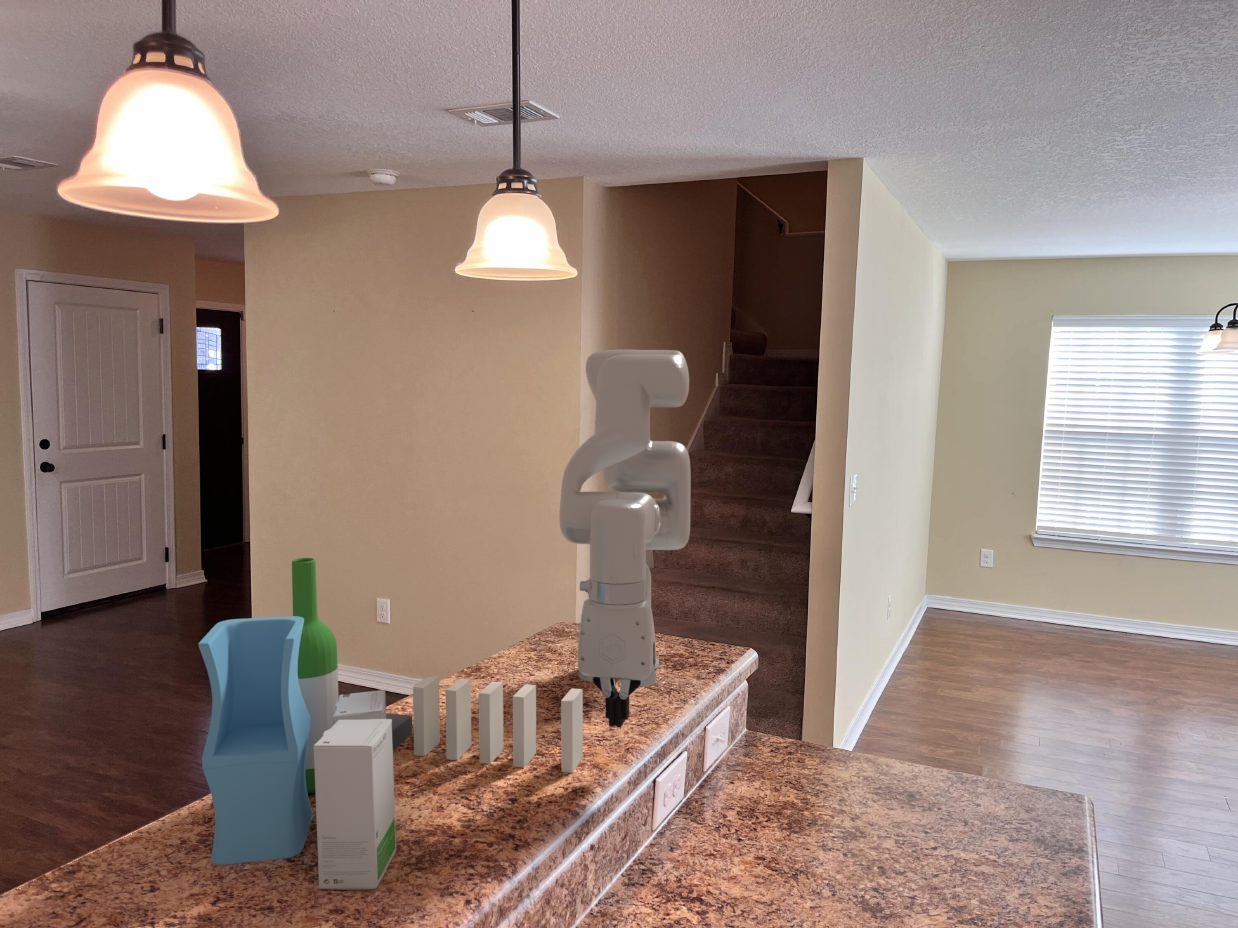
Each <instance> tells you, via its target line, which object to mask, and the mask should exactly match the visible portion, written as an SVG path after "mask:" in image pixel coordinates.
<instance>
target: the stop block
mask: <svg viewBox="0 0 1238 928" xmlns="http://www.w3.org/2000/svg"><path fill="white" fill-rule="evenodd" d="M386 719H392V746H393V752H394V751H395V750H396V749H397V748H399V747H400V746H401V745H403V743H404V742H405V741H407V740H408V739H409V738H410V737H412V736H414V732H413V715H410V714H409V715H408V714H403V713H392V712H388V713H387V712H386Z"/></svg>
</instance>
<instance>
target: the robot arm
mask: <svg viewBox="0 0 1238 928" xmlns="http://www.w3.org/2000/svg"><path fill="white" fill-rule="evenodd" d="M585 374H586V379H587V383H588V385H589V389H590V391H591V392H592V395H593V397H594V399H595V401H596V402H595V403H596V404H595V406H596V407H595V420H594V434H593V435H592V436H590V437H589V438H587V440H585V442H583V443H582V444H581V445H580V446H579V447H578V449H577V450H576V451H575V452H574V453H573V454H572V456H571V458H570V459H569V461H568V463H567V465H566V467H565V469H564V472H563V476H562V480H561V490H560V501H559V528H560V532H561V535H562V536H563V538H564V540H566V541H567V542H570V543H572V544H576V545H589V578H588V580H585V581H584V580H580V582H579V591H580V592H581V591H582V592H584V593H587V594H588V598H587V599H586V600H584V601H583V604H582V609H581V610H582V611H581V615H580V622H579V630H578V631H579V632H578V633H579V634H578V642H577V643H578V645H577V669H578V671H579V672H578V678H579V679H581V680H583V681H587V682H589V683H593V684H594V685H595V686H596V688H598V690H599V691H600V692H601V694H602V697H604V698H605V701H604V702H605V709H604V711H605V714H604V715H605V716H604V717H605V718H606V719H608V727H610V728H614V727H616V728H618V729H619V728H622V727H623V725H624V723H625V721H627V720H629V717H630V695H632V693H634V692H635V691H636V690H637V689H638V688H641V687H642V688H643V687H648V686H654V685H656V683H657V680H658V677H657V672H656V669H657V668H658V667H659V665H660V662H659V661H660V660H659V657H658V656H657V649H656V648H657V647H656V635H655V632H656V631H655V625H654V617H653V611H652V610H653V609H652V574H651V570H650V567H649V565H648V564H647V560H646V559H647V558H646V557H647V550H648V551H649V550H650V551H651V550H653V551H676V550H681V549H683V548H684V547H685V546H687V544H688V542H689V539H690V535H691V534H690V533H691V494H692V493H691V489H692V487H691V484H692V482H691V475H692V474H691V459H690V455H689V451H688V449H687V447H686V446H685V445H684V444H682V443H680V442H678V441H673V440H663V441H662V440H651V408H679V407H682V406H684V404H685V403H686V401H687V398H688V395H689V390H690V373H689V367H688V364H687V361H686V358H685V356H684V354H683V353H682V352H681V351H679V350H676V349H675V350H673V349H671V350H669V349H606V350H599V351H596V352H594V353H591V354H590V355H589V356H588V357H587V359H586V362H585ZM601 471H603V472H602V473H603V480H604V483H605V485H606V487H607V489H609V490H610V491H582V487H583V485H584V484H585V483H586V481H587V480H588V479H590V478H591V477H592V476H594V475H595V474H597V473H599V472H601ZM650 494H662V495H663V496H665V498H653V497H652V495H650ZM616 680H621V681H620V687H619V690H618V689H617V687H616Z"/></svg>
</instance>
